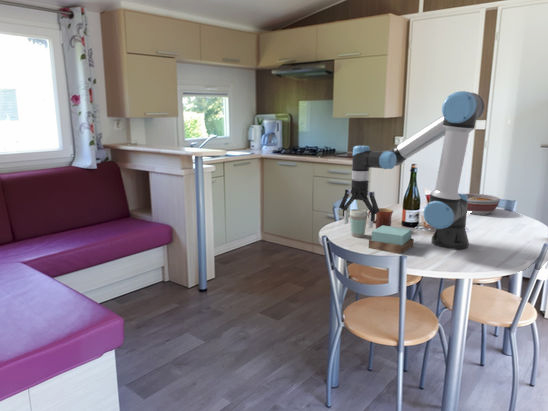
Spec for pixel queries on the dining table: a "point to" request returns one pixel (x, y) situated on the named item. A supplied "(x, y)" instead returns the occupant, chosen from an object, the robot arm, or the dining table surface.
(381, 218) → the mug
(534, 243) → the dining table surface
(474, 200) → the bowl
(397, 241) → the tower top
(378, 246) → the tower base
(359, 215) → the coffee cup
